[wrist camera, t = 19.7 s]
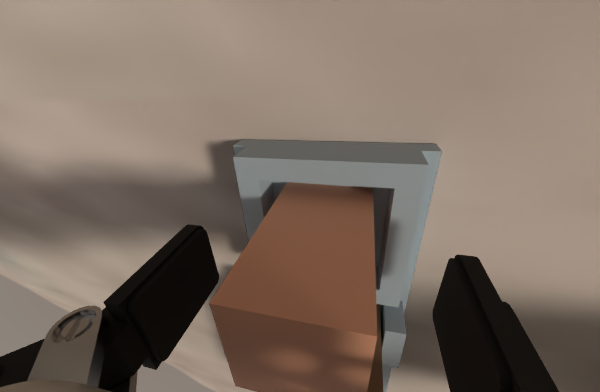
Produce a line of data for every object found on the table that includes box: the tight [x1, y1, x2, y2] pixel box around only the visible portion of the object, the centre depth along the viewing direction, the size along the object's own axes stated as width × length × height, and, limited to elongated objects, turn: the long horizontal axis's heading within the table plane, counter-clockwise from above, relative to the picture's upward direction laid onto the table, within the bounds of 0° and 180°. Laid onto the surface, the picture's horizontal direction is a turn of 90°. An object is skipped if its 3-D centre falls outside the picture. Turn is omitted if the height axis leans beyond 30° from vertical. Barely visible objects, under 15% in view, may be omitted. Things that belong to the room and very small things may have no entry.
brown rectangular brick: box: [209, 182, 377, 392], centre depth 10 cm, size 4×4×7 cm
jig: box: [233, 139, 442, 392], centre depth 16 cm, size 22×9×3 cm, turn 2°
